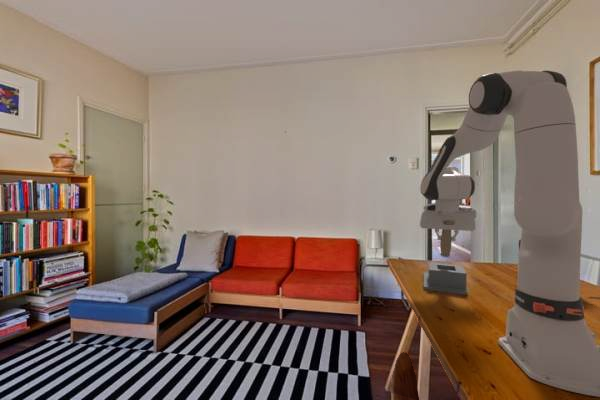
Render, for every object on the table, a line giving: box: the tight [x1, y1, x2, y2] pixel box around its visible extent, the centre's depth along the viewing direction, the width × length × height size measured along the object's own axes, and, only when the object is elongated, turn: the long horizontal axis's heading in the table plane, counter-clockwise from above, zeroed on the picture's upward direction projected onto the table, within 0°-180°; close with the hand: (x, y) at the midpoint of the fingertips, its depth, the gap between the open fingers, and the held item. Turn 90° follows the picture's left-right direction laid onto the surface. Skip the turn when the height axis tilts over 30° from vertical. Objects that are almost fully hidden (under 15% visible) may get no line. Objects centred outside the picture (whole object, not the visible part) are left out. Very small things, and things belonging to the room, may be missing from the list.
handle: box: [439, 221, 455, 258], centre depth 116 cm, size 5×6×15 cm
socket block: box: [423, 262, 469, 296], centre depth 118 cm, size 22×15×7 cm
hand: (446, 240), depth 116 cm, fingers closed on handle, 4 cm apart
